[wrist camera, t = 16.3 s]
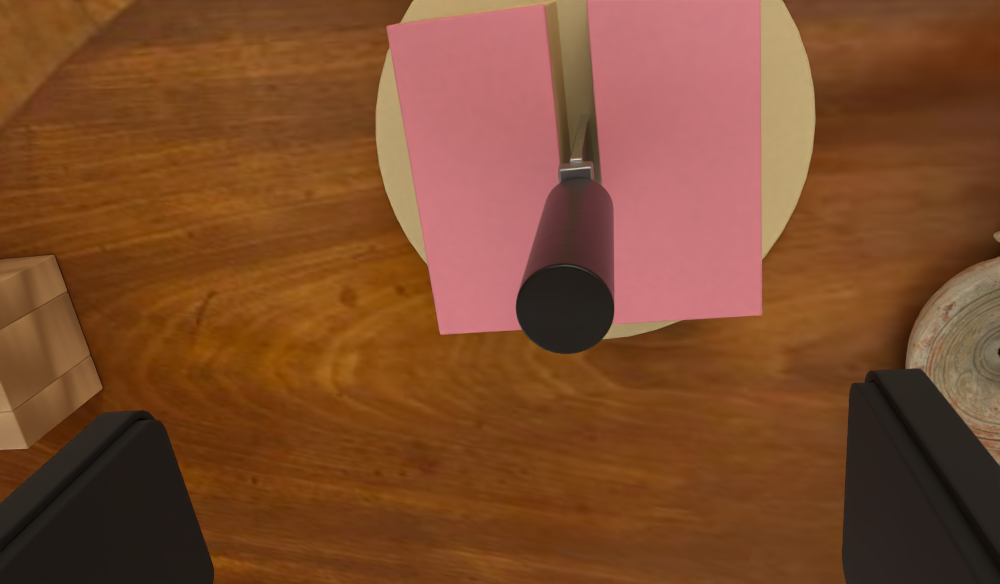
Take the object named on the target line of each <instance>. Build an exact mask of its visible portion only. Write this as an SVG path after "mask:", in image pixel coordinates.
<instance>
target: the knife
mask: <svg viewBox="0 0 1000 584" xmlns="http://www.w3.org/2000/svg"><path fill="white" fill-rule="evenodd" d="M558 179H559V184H558V185H556V186H555V187H554V188H553V189H552V190H551V192H550V193H549V195H548V197H547V199H546V202H545V205H544V208H543V212H542V215H541V218H540V222H539V225H538V228H537V232H536V235H535V238H534V242H533V245H532V248H531V252H530V255H529V258H528V262H527V265H526V268H525V272H524V275H523V278H522V282H521V285H520V288H519V292H518V295H517V299H516V315H517V319H518V322H519V325H520V327H521V329H522V330H523V332H524V333H525V335H526V336H527V337H528V338H529V339H530V340H531V341H532V342H534V343H535V344H536V345H538V346H539V347H541V348H543V349H545V350H548V351H550V352H554V353H560V354H572V353H578V352H582V351H585V350H587V349H589V348H591V347H593V346H594V345H596V344H597V343H599V342H600V341H601V340H602V339H603V338H604V337H605V335H606V334H607V333H608V331H609V329H610V327H611V325H612V322H613V319H614V207H613V202H612V199H611V197H610V195H609V193H608V192H607V190H606V189H605V188H604V187H603V186H602V185H600V184H599V183H598V182H596V181H595V172H594V161H593V149H592V137H591V126H590V114H581V115H580V119H579V123H578V127H577V131H576V136H575V140H574V144H573V148H572V153H571V157H570V163H566V164H561V165H559V169H558Z"/></svg>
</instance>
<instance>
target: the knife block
mask: <svg viewBox="0 0 1000 584" xmlns="http://www.w3.org/2000/svg"><path fill="white" fill-rule="evenodd" d="M102 388H103V387H102V384H101V382H100V379H99V376H98V373H97V371H96V368H95V365H94V362H93V360H92V357H91V356H90V352H89V349H88V346H87V343H86V340H85V338H84V335H83V332H82V329H81V327H80V324H79V321H78V318H77V316H76V313H75V310H74V307H73V305H72V302H71V299H70V296H69V294H68V292H67V288H66V285H65V283H64V280H63V277H62V274H61V272H60V269H59V266H58V263H57V261H56V258H55V256H54V255H44V256H33V257H22V258H10V259H0V450H2V449H27V448H29V447H30V446H32V445H33V444H34V443H35V442H36V441H38V440H39V439H40V438H41V437H43V436H44V435H45V434H46V433H48V432H49V431H50V430H51V429H53V428H54V427H55V426H56V425H58V424H59V423H60V422H61V421H63V420H64V419H65V418H66V417H68V416H69V415H70V414H71V413H73V412H74V411H75V410H76V409H78V408H79V407H80V406H81V405H83V404H84V403H85V402H86V401H88V400H89V399H90V398H91V397H93V396H94V395H95V394H96V393H98V392H99V391H100V390H101V389H102Z"/></svg>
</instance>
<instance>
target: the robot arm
mask: <svg viewBox="0 0 1000 584" xmlns="http://www.w3.org/2000/svg"><path fill="white" fill-rule="evenodd" d="M842 562H843V570H844V575H845V579H846V583H847V584H1000V465H999V464H998V463H997V462H996V460H995V459H994V458H993V457H992V455H991V454H990V453H989V452H988V450H987V449H986V448H985V447H984V446H983V444H982V443H981V442H980V441H979V439H978V438H977V437H976V436H975V434H974V433H973V432H972V431H971V429H970V428H969V427H968V426H967V424H966V423H965V422H964V421H963V419H962V418H961V417H960V416H959V414H958V413H957V412H956V411H955V409H954V408H953V407H952V406H951V404H950V403H949V402H948V401H947V400H946V398H945V397H944V396H943V395H942V393H941V392H940V391H939V390H938V388H937V387H936V386H935V385H934V383H933V382H932V381H931V380H930V378H929V377H928V376H927V375H926V373H925V372H924V371H922V370H921V369H919V368H912V369H894V370H876V371H869V372H868V373H867V375H866V378H865V383H853V384H852V385H851V388H850V395H849V415H848V437H847V458H846V480H845V502H844V523H843V545H842ZM213 579H214V568H213V564H212V561H211V558H210V555H209V552H208V549H207V546H206V543H205V541H204V538H203V535H202V532H201V529H200V526H199V523H198V521H197V518H196V515H195V512H194V509H193V506H192V503H191V500H190V498H189V495H188V492H187V489H186V486H185V483H184V480H183V477H182V475H181V472H180V469H179V466H178V463H177V460H176V457H175V454H174V452H173V449H172V446H171V443H170V440H169V437H168V434H167V432H166V429H165V427H164V425H163V424H162V423H161V422H160V421H158V420H155V419H154V417H153V416H152V415H151V414H150V413H149V412H146V411H144V410H141V411H123V412H108V413H103V414H102V415H100V416H98V417H97V418H96V419H95V420H94V421H93V422H91V423H90V424H89V425H88V426H87V427H86V428H85V429H84V430H82V431H81V432H80V433H79V434H78V435H77V436H76V437H75V438H73V439H72V440H71V441H70V442H69V443H68V444H67V445H66V446H64V447H63V448H62V449H61V450H60V451H59V452H58V453H56V454H55V455H54V456H53V457H52V458H51V459H50V460H49V461H47V462H46V463H45V464H44V465H43V466H42V467H41V468H40V469H38V470H37V471H36V472H35V473H34V474H33V475H32V476H31V477H29V478H28V479H27V480H26V481H25V482H24V483H23V484H22V485H20V486H19V487H18V488H17V489H16V490H15V491H14V492H13V493H11V494H10V495H9V496H8V497H7V498H6V499H5V500H3V501H2V502H1V503H0V584H213Z"/></svg>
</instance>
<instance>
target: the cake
mask: <svg viewBox="0 0 1000 584" xmlns="http://www.w3.org/2000/svg"><path fill="white" fill-rule="evenodd" d="M387 34H388V39H389V45H390V47H389V50H388V52H387V55H386V59H385V63H384V67H383V70H382V74H381V78H380V82H379V89H378V97H377V105H376V144H377V152H378V160H379V166H380V170H381V174H382V178H383V182H384V186H385V190H386V193H387V195H388V198H389V200H390V203H391V205H392V208H393V211H394V213H395V216H396V218H397V219H398V221H399V223H400V225H401V227H402V229H403V230H404V232H405V234H406V236H407V238H408V239H409V241H410V242H411V244H412V245H413V246H414V248H415V249H416V251H417V252H418V254H419V255H420V256H421V258H422V259H423V260H424V262H425V263H426V264H427V265H428V268H429V274H430V280H431V286H432V291H433V297H434V303H435V308H436V314H437V320H438V326H439V331H440V334H441V335H444V334H461V333H477V332H493V331H509V330H522V329H521V327H520V325H519V322H518V319H517V315H516V299H517V295H518V292H519V288H520V285H521V282H522V278H523V275H524V272H525V268H526V265H527V262H528V258H529V255H530V252H531V248H532V245H533V242H534V238H535V235H536V232H537V228H538V225H539V222H540V218H541V215H542V212H543V208H544V205H545V202H546V199H547V197H548V195H549V193H550V192H551V190H552V189H553V188H554V187H555V186H556V185H558V184H559V179H558V169H559V165H561V164H566V163H570V157H571V153H572V148H573V144H574V140H575V136H576V131H577V127H578V123H579V119H580V115H581V114H590V126H591V137H592V149H593V161H594V172H595V181H596V182H598V183H599V184H600V185H602V186H603V187H604V188H605V189H606V190H607V192H608V193H609V195H610V197H611V199H612V202H613V207H614V319H613V322H612V325H611V327H610V329H609V331H608V333H607V334H606V335H605V337H604V338H603V339H610V338H619V337H627V336H633V335H637V334H641V333H645V332H649V331H653V330H657V329H659V328H662V327H665V326H668V325H670V324H673V323H676V322H678V321H681V320H691V319H707V318H724V317H740V316H756V315H762V259H763V258H764V257H765V256H766V255H767V253H768V252H769V250H770V249H771V247H772V246H773V245H774V243H775V242H776V240H777V239H778V237H779V236H780V235H781V233H782V232H783V230H784V228H785V226H786V224H787V222H788V220H789V218H790V217H791V215H792V213H793V211H794V209H795V207H796V205H797V202H798V199H799V197H800V194H801V191H802V189H803V186H804V183H805V181H806V177H807V173H808V169H809V164H810V160H811V155H812V151H813V142H814V131H815V100H814V87H813V82H812V76H811V71H810V66H809V61H808V57H807V54H806V51H805V48H804V46H803V43H802V40H801V37H800V34H799V31H798V29H797V27H796V25H795V23H794V21H793V19H792V17H791V15H790V13H789V11H788V9H787V7H786V5H785V4H784V2H783V0H413V1H412V3H411V5H410V7H409V8H408V10H407V12H406V14H405V15H404V17H403V19H402V21H401V22H400V23H398V24H393V25H388V26H387Z"/></svg>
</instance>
